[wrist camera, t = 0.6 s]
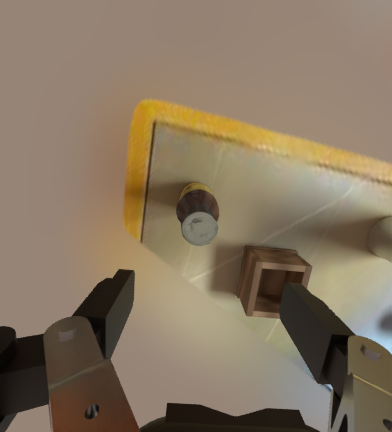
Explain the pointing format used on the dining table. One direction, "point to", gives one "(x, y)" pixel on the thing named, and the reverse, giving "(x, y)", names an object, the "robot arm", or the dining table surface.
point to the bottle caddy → (269, 278)
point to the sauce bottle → (198, 214)
